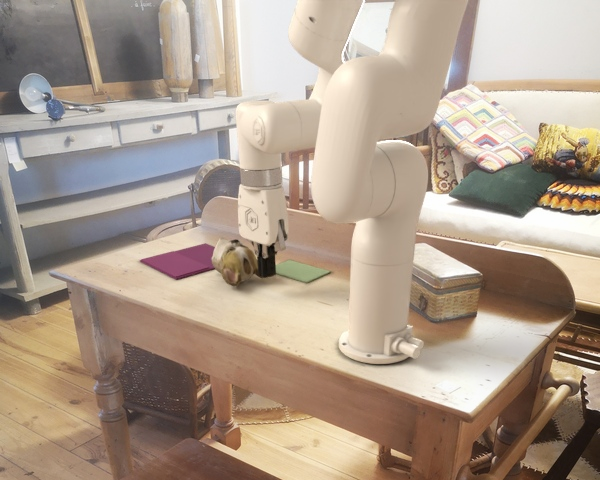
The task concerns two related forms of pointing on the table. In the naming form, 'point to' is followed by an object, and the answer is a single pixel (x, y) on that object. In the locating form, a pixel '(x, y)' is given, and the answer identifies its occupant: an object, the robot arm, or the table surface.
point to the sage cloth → (300, 271)
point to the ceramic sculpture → (234, 261)
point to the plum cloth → (183, 261)
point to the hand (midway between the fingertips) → (267, 275)
